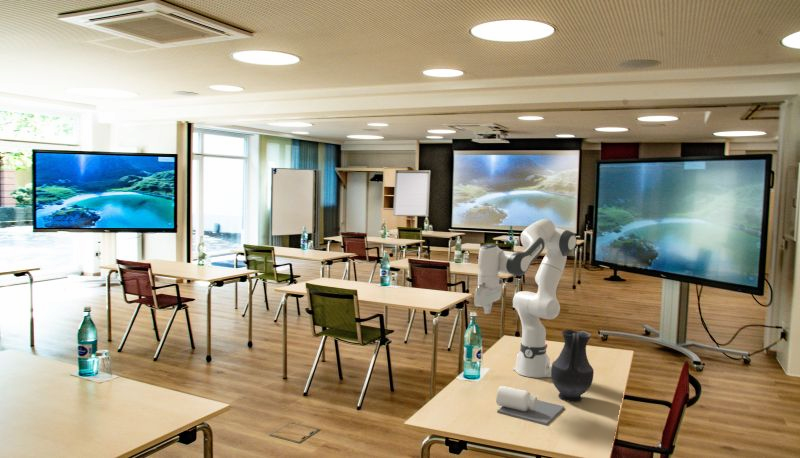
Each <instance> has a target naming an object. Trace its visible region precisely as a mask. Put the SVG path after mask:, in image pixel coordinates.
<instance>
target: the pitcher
mask: <svg viewBox="0 0 800 458" xmlns="http://www.w3.org/2000/svg"><path fill="white" fill-rule="evenodd" d="M561 336H562V337H563V340H564V345H563V348H562V349H561V352H560V353H559V355H558V357H557V358H556V359H555V360H554V361H553V362H552V363H551V367H552V368H551V377H550V378H551V381H552V383H553V386H554V387H555V388H556V389H557V391H558V392H559V394H558V398H559V399H560V400H561V401H562V400H563V401H565V402H570V403H578V402H582V400H583V398H582V395H584V394H585V393H586V392H587V391H589V389H590V388H591V386H592V384H593V381H594V371H595V370H594V368H593V366H592V365H591V363H590V362H589V359H588V355H587V344H588V342H589V341H590V338H591V337H592V335H591V334H590V333H589V332H587V331H583V330H581V331H578V330H573V329H565V330H562V331H561Z"/></svg>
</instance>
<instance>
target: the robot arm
mask: <svg viewBox="0 0 800 458" xmlns="http://www.w3.org/2000/svg"><path fill="white" fill-rule="evenodd" d="M577 240H578V239H577V237H576V234H575V233H574V232H572V231H571V230H568V229H567V230H566V229H562V228H560V227H556V225H555V224H554V222H553V221H552V220H550V219H549V218H542V219H539V220H537V221H535V222H533V223H531V224H529V225H528V226H527V227H526V228H525V229H523V231H522V232H521V233H520V243H521V245H522V247H523V248H524V250H523V251H520V252H519V251H518V252H515V251H507V250H504V249H501V248H500V247H499V246H498V244H496V243H486V244H482V245H481V246H480V247H479V251H478V259H477V260H478V261H477V264H478V273H477V287H476V288H475V291H474V298H473V299H474V300H473V302H474V303H473V304H474V306H475V307H478V308H479V307H481V308H483V314H485V315H489V314H491V311H492V307H493V303H495V302H497V301H499V300H501V296H502V285H503V278H500V277H499V273H501V274H502V273H503V274H508V275H511V276H512V275H513V276H516V277H521V276H523V275H525V274H526V273H527V271H528V270H529V269H530V266H531V265H532V264H533V262H534V261H535V260H536V259H537V258H538V257H539V256H540V255H541V254H542V253H543V251H544V250H547V252H546V253H545V255H544V257H543V259H542V260H541V263H540V264H539V267H538V270H537V272H536V274H535V277H534V280H535V283H536V284H537V287H538V288H537V292H532V291H528V290H527V291H525V290H523V291H522V290H521V291H518V292H516V293H515V294H514V296H513V298H512V306H513V308H514V309H515V310H516V312H517V314H518V316H519V319H520V323H521V329H522V330H521V343H520V346H519V347H520V349H519V350H520V351H519V352H518V353H517V355H516V360H515V362H516V363H515V366H513V367H512V370H513V371H514V372H516V373H517V374H518V375H520V376H522V377H528V378H538V379H539V378H552V377H551V368H552V365H550V363H551V358H550V357H549V355H548V354H547V348H548V344H547V343H546V337H547V335H546V333H547V330H546V327H545V326H544V325H543V323H542V321H541V320H540V319H544V320H554V319H555V318H557V317H558V316H559V314H560V312H561V306H560V302H559V300H558V298H557V288H558V285H559V282H560V280H561V277H562V275H563V273H564V270H565V267H566V263H567V258H568V257H567V256H568V255H569V254H570V253H571V252H573V251H574V250H575V248H576V245H577Z"/></svg>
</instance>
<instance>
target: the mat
mask: <svg viewBox="0 0 800 458" xmlns="http://www.w3.org/2000/svg"><path fill="white" fill-rule="evenodd" d="M564 409H565V406H564V405H560V404H556V403H553V402H547V401H544V400H539V399H537V406H536V409H535V410H534V411H533V410H530V409H528V410H527V411H519V410H515V409H511V408H507V407H503V406H500V408H499V409H497V411H496V412H497V413H498V414H502V415H505V416H510V417H513V418H518V419H521V420H525V421H529V422H533V423H537V424H541V425H545V426H548V424H550V422H552V420H554V419H555V418H556V417H557V416H558V415H559V414H560V413H561V412H562V411H564Z"/></svg>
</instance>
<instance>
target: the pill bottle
mask: <svg viewBox="0 0 800 458" xmlns="http://www.w3.org/2000/svg"><path fill="white" fill-rule="evenodd" d="M537 400H538V397H536V396H534V395H531V393H530V391H527V390H523V389H520V388H519V389H518V388H514V387H509V386H505V385H500V386H499V387H498V389H497V391H496V405H497V406H500V407H507V408H511V409H515V410H519V411H527V410H528V409H530V410H533V411H534V410H535V409H536V406H537Z"/></svg>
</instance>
